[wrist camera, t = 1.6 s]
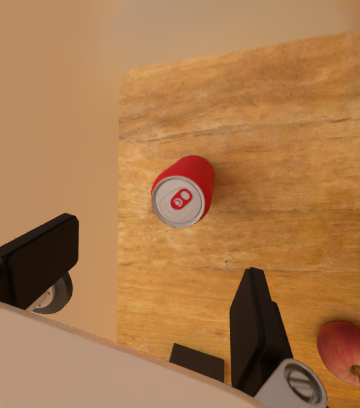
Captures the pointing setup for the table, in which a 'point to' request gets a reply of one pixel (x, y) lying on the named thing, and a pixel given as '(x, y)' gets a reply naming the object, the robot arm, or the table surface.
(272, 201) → the table surface
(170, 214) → the beverage can
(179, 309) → the table surface
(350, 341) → the apple
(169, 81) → the table surface
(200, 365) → the frame
